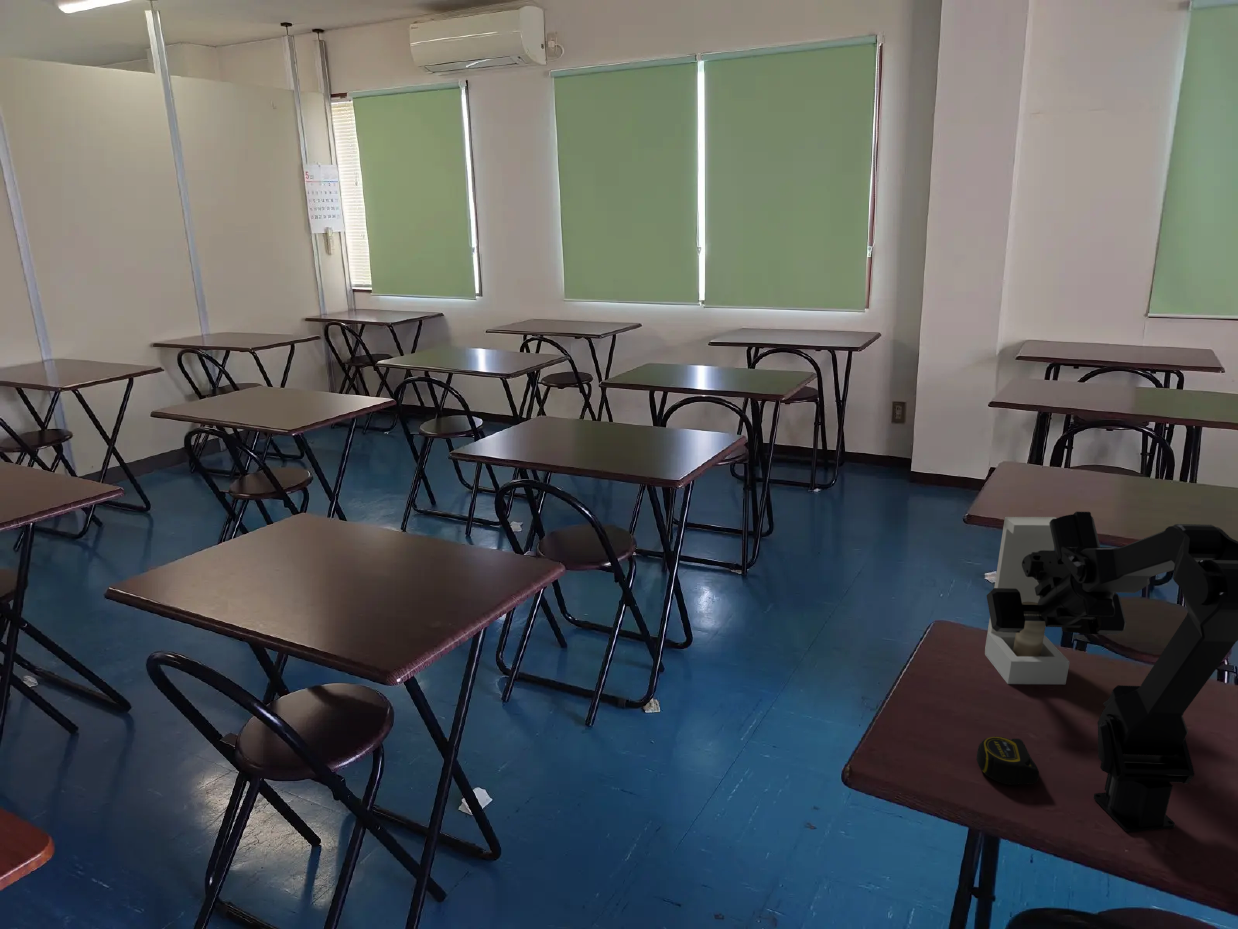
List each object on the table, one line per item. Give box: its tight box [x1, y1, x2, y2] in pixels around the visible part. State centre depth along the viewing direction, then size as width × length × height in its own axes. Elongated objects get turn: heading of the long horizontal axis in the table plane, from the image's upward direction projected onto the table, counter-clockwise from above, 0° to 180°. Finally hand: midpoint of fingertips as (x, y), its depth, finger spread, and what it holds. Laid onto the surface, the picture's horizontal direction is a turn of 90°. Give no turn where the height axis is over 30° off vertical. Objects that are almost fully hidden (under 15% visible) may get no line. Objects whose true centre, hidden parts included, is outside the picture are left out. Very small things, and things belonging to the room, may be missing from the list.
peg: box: [1013, 602, 1047, 657], centre depth 136 cm, size 4×4×11 cm
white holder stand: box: [984, 516, 1070, 685], centre depth 135 cm, size 10×9×24 cm
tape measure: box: [976, 736, 1040, 786], centre depth 113 cm, size 7×7×4 cm
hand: (1032, 627), depth 135 cm, fingers open, 9 cm apart
